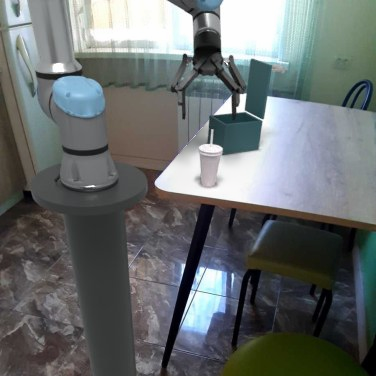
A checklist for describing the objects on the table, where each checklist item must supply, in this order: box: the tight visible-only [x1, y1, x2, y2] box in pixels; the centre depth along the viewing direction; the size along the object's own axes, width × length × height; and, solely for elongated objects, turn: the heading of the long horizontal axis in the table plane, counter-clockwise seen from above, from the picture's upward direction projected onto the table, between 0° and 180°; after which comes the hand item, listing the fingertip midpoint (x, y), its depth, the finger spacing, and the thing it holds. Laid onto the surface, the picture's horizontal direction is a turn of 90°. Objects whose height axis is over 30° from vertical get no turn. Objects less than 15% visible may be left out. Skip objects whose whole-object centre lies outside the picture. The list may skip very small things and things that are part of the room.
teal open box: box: [207, 111, 263, 156], centre depth 134 cm, size 14×11×9 cm
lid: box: [244, 58, 287, 120], centre depth 129 cm, size 14×11×8 cm
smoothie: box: [197, 129, 223, 188], centre depth 109 cm, size 6×6×14 cm
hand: (209, 117), depth 110 cm, fingers open, 13 cm apart
